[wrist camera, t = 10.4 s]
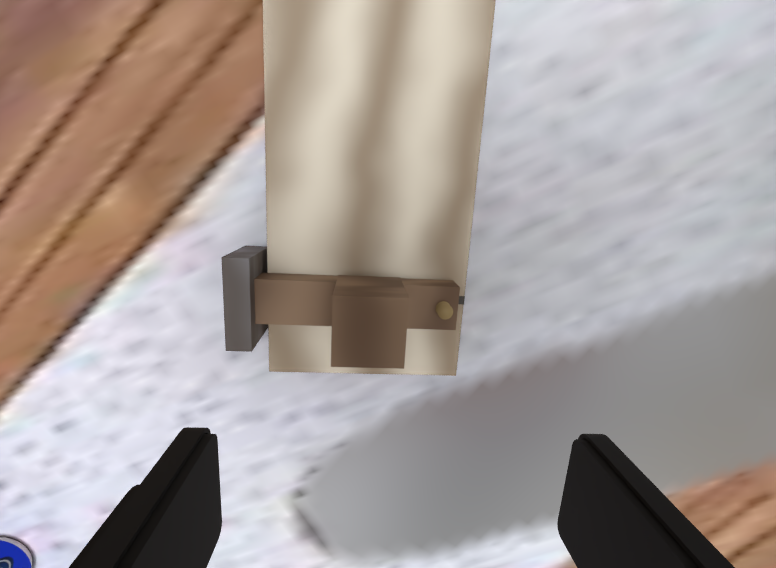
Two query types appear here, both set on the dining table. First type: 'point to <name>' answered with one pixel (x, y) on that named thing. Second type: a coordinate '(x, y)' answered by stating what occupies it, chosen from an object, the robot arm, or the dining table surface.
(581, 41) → the dining table surface
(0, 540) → the beverage can
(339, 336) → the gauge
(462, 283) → the board
